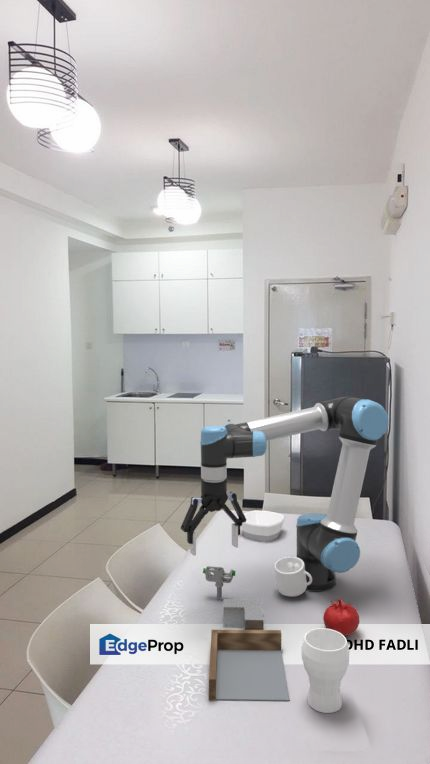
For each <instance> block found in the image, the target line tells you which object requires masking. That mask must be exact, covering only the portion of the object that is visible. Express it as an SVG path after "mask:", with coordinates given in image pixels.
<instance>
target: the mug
mask: <svg viewBox="0 0 430 764" xmlns="http://www.w3.org/2000/svg"><path fill="white" fill-rule="evenodd" d="M273 567H274V575H275V580H276V581H275V582H276V588H277V591H278V592H279V593H280V594H281V595H282V596H284V597H285V596H286V597H298V596H300V595H302V594H303V593H304V592H305V591H307V590H306V588H307V585H310V584H311V583H312V577H311V575H310V574H309V573H308V572H306V571H305V565H304V562H303V560H301V559H300V558H298V557H297V556H284V557H280V558H279V559H278V560H276V561H275V562H274V565H273ZM306 575H307V576H308V577H309V579H310V581H309V582H308V583H307V581H306Z"/></svg>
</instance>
